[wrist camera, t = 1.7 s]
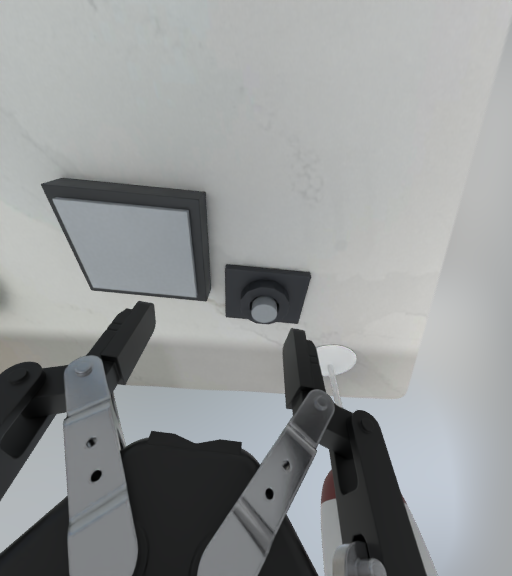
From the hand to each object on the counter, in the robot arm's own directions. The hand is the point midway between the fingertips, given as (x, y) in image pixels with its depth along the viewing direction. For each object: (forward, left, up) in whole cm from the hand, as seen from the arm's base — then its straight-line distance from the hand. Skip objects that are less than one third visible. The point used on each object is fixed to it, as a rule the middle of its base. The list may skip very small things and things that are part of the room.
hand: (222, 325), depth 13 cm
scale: (+11, +2, -14) cm, 18 cm away
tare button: (-3, +8, -12) cm, 15 cm away
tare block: (-3, +8, -14) cm, 16 cm away
